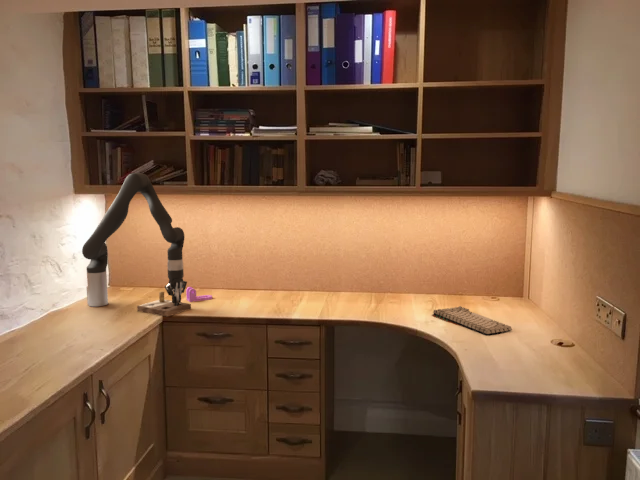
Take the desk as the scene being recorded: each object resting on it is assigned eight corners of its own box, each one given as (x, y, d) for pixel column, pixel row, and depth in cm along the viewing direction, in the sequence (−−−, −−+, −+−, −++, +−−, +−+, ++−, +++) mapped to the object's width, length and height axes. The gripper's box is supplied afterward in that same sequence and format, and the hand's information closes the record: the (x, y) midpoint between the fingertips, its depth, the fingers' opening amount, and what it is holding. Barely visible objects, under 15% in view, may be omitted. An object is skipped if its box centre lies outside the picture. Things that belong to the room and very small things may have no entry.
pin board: (137, 311, 262) (136, 295, 261) (161, 303, 276) (161, 289, 275) (167, 316, 253) (166, 300, 251) (190, 308, 266) (190, 293, 265)
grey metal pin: (173, 306, 264) (172, 289, 263) (176, 305, 266) (176, 288, 265) (177, 307, 263) (176, 289, 262) (180, 306, 265) (179, 288, 264)
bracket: (189, 302, 280) (189, 289, 279) (186, 300, 285) (186, 287, 284) (213, 299, 286) (213, 286, 285) (210, 297, 291) (209, 284, 290)
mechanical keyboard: (518, 331, 232) (518, 324, 232) (485, 338, 223) (485, 330, 223) (458, 311, 265) (458, 304, 265) (428, 316, 257) (428, 309, 256)
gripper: (179, 265, 270) (180, 298, 272) (159, 270, 258) (160, 304, 260) (191, 266, 266) (192, 300, 269) (170, 271, 254) (172, 306, 257)
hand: (176, 302), depth 264 cm, fingers closed on grey metal pin, 2 cm apart
